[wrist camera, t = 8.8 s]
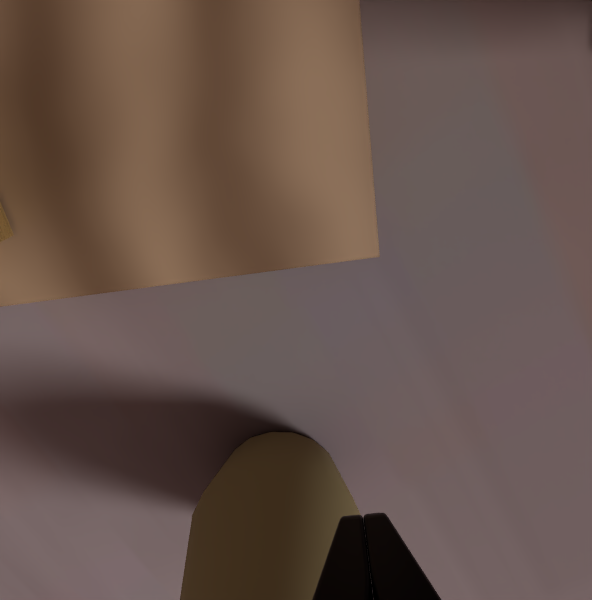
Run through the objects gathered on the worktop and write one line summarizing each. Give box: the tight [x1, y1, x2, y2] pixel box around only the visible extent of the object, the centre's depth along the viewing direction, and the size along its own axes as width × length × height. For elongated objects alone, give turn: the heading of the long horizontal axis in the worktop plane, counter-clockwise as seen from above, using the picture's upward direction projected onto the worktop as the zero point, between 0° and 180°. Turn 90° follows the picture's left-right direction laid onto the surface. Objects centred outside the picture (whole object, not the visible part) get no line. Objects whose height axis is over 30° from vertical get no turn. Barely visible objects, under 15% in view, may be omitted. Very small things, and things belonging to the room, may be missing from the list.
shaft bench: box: [0, 0, 380, 307], centre depth 14 cm, size 22×12×10 cm, turn 98°
